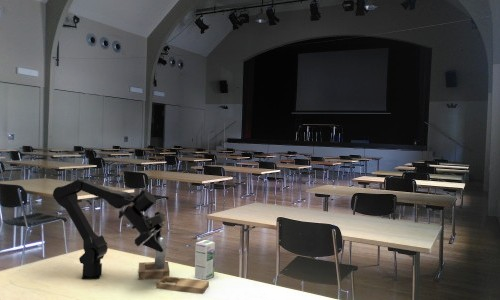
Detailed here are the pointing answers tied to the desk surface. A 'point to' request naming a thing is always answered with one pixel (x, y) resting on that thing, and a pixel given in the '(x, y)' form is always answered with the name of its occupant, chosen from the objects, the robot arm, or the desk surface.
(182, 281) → the brown wooden board
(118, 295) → the desk surface
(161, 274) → the socket block
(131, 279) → the desk surface
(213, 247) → the syrup box
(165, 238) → the axle
